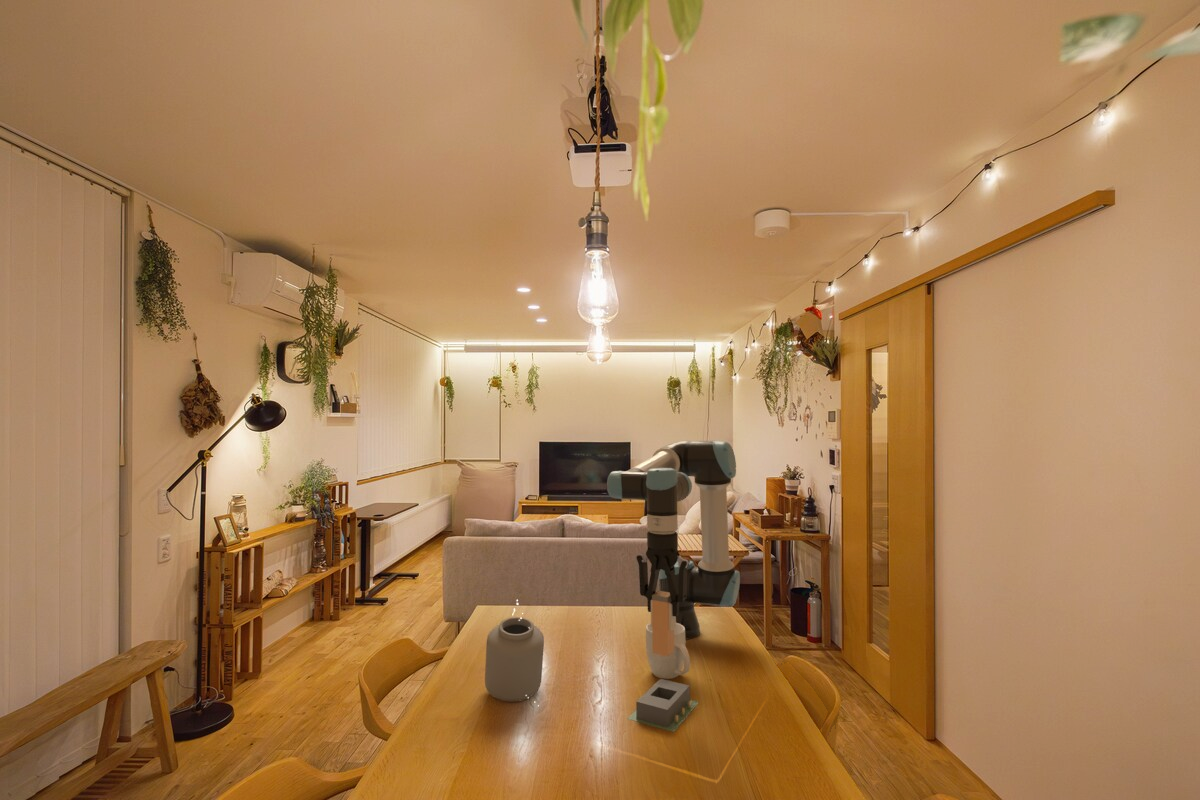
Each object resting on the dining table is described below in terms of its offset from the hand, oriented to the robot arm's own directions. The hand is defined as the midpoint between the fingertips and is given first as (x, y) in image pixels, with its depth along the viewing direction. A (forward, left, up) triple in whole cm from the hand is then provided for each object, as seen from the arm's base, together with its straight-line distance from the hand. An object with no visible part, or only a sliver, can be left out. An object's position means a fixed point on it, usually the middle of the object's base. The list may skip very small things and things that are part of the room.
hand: (663, 627), depth 141 cm
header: (0, 0, -20) cm, 20 cm away
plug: (0, 0, -6) cm, 6 cm away
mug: (-19, -7, -21) cm, 29 cm away
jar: (+11, -37, -21) cm, 44 cm away
